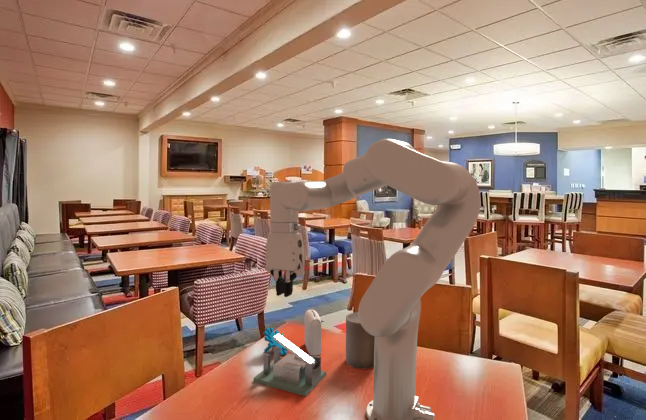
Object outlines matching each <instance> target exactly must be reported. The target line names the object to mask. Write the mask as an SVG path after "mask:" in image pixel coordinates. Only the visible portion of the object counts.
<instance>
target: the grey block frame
mask: <svg viewBox="0 0 646 420" xmlns="http://www.w3.org/2000/svg"><path fill="white" fill-rule="evenodd" d="M273 349H274V351H273V362H274V365H273V379H276V380H279V381H283V382H287V383H290V384H294V385H297V386H300V385H301V384H302V383H303V382H304V381H305V384H306V385H309V386H313V385H314V384H315V383H316V381H317V380H318V379H319V378H320V377H321V370H322V357H321V356H320V355H310V354H307V355H308V356H310V357H311V358H312V359H314V360H317V361H318V364H316V365H315V366H314V367H313V364H312V363H307V362H306V363H304V362H303V361H301V360H300V359H299V358H297V357H296V356H295V355H293V354H292V353H291V352H287V354H286V355H284V356H283V357H282V358H281V355H280V347H277V346H275V347H273ZM262 356H263V359H262V360H263V362H262V363H263V370H262V371H263V374H265V375H269V374H270V365H271V354H269V353H267V352H265V353H263V355H262Z"/></svg>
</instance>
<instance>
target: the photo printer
mask: <svg viewBox="0 0 646 420" xmlns="http://www.w3.org/2000/svg"><path fill="white" fill-rule="evenodd" d="M304 346H305V348H306V351H307V352H308V355H309V356H314V355H315V356H320V354H322V320H321V317H320V315H319V313H318V311H316V310H314V309H308V310H307V311H305V313H304Z"/></svg>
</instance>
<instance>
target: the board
mask: <svg viewBox="0 0 646 420" xmlns="http://www.w3.org/2000/svg"><path fill="white" fill-rule="evenodd" d="M273 365H274V361H273V362H272V363H270V374H269V375H265V374H263V370H261V371H260V372H259V373H258V374H256V375H255V376H254V377H253V378H252V379H253V381H252V382H254V383H258V384H261V385H264V386H268V387H272V388H274V389H279V390H283V391H285V392H289V393H293V394H295V395H299V396H303V397H307V395H309V394H310V393H311V391H313V389H314V388H315V387H317V385H318V384H319V383H320V382H321V381H322V380H323V379H324V378H325V377H326V376H327V371H326V370H322V369H321V377H320V378H319V379H318V380H317V381H316V383H315V384H314V385H313V386H309V385H306V384H305V381H304V382H303V383H302V384H301V385H300V386H297V385H294V384H290V383H287V382H283V381H279V380H276V379H273Z"/></svg>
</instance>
